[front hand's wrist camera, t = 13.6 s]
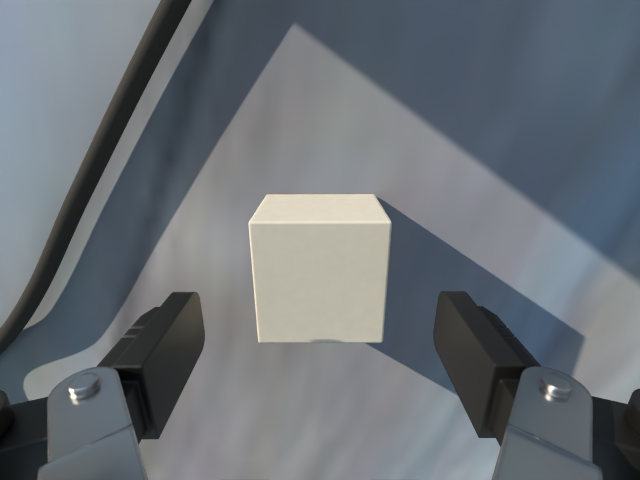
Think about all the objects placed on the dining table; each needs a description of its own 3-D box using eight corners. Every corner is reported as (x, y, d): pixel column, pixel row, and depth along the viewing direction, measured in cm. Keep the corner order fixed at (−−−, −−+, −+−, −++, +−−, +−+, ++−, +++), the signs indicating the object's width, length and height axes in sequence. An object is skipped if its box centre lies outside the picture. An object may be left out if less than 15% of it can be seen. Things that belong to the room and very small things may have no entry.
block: (272, 291, 17) (258, 343, 14) (266, 194, 16) (247, 221, 12) (369, 291, 17) (383, 343, 14) (374, 193, 16) (392, 221, 12)
